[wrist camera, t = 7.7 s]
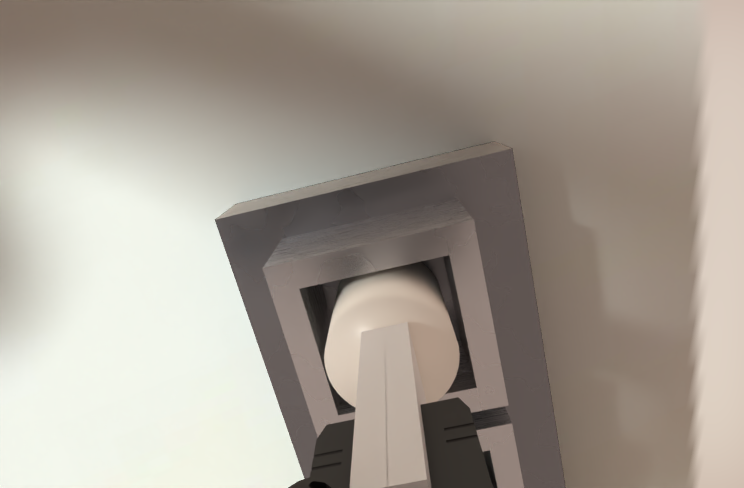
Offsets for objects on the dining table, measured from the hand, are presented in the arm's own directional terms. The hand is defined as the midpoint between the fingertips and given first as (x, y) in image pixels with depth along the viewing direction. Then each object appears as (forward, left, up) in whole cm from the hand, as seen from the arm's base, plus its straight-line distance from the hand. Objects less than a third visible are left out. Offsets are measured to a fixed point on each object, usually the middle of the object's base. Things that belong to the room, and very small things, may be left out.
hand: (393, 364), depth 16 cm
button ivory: (0, 0, -5) cm, 5 cm away
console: (+8, 0, -8) cm, 11 cm away
